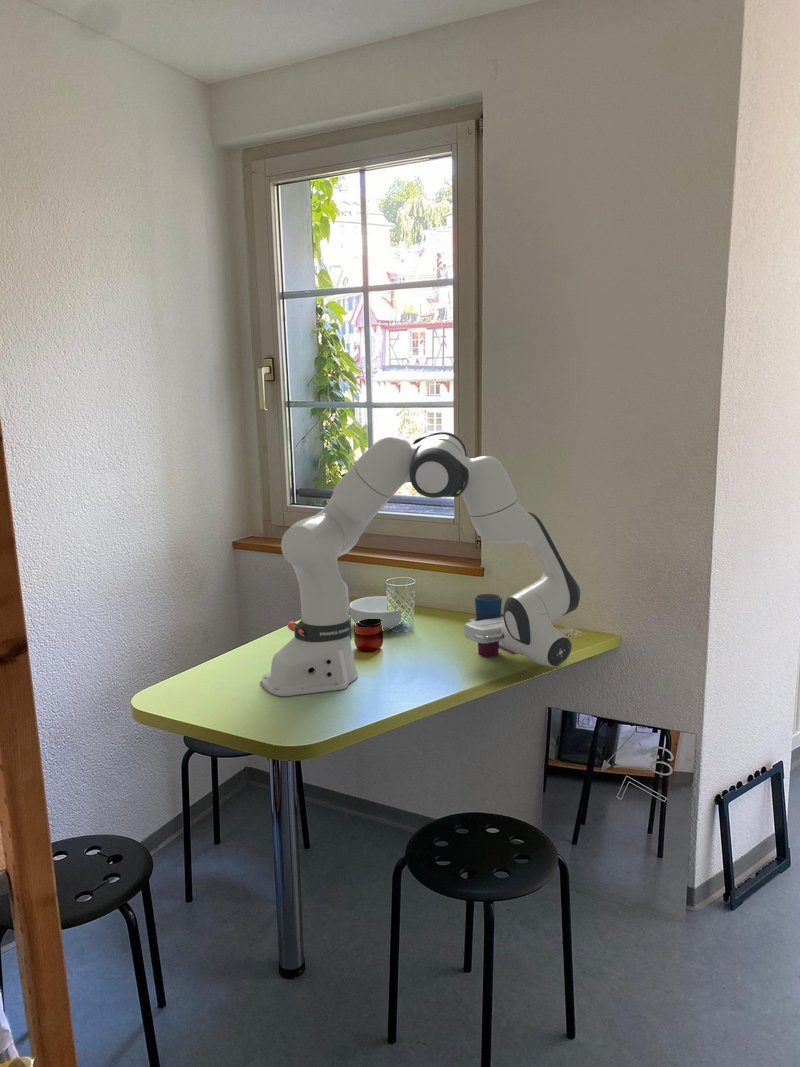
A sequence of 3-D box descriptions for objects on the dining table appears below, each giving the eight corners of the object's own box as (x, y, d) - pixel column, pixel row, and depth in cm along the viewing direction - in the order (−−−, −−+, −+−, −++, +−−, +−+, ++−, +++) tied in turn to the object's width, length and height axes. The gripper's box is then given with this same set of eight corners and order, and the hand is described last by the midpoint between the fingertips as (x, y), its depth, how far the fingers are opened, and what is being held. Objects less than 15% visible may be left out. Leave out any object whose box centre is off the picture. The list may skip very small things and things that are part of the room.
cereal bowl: (349, 637, 220) (348, 612, 218) (350, 620, 236) (350, 596, 235) (410, 635, 220) (410, 610, 219) (408, 618, 237) (407, 595, 235)
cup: (474, 649, 207) (474, 593, 204) (500, 649, 207) (500, 593, 204) (475, 658, 200) (475, 600, 198) (503, 658, 200) (503, 600, 197)
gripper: (482, 653, 186) (451, 637, 198) (552, 639, 195) (519, 625, 208) (482, 627, 185) (451, 613, 197) (553, 614, 194) (520, 601, 206)
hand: (487, 619), depth 202 cm, fingers open, 8 cm apart
